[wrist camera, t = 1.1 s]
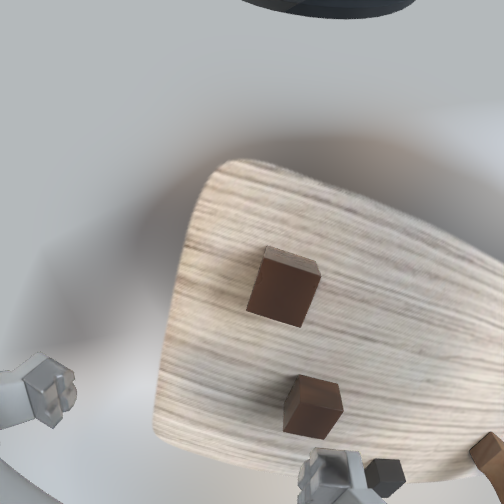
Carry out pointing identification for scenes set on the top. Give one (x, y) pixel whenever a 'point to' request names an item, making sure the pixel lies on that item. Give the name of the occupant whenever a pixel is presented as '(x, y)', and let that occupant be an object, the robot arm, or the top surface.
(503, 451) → the wooden block
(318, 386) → the middle cube
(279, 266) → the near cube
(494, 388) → the top surface
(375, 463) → the cube
